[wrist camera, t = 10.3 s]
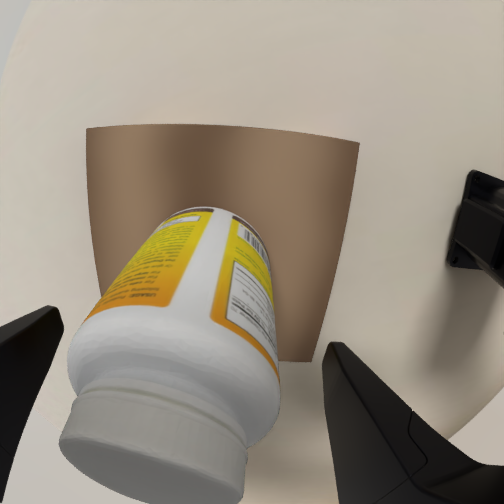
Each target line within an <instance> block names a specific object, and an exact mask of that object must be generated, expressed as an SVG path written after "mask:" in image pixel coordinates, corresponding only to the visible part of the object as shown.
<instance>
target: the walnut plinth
mask: <svg viewBox="0 0 504 504" xmlns="http://www.w3.org/2000/svg"><path fill="white" fill-rule="evenodd" d="M359 144H360V143H358V142H353V141H348V140H343V139H338V138H332V137H326V136H320V135H313V134H306V133H299V132H291V131H283V130H274V129H264V128H253V127H240V126H224V125H200V124H146V125H122V126H108V127H97V128H87V129H86V166H87V189H88V204H89V216H90V226H91V234H92V243H93V250H94V257H95V264H96V270H97V276H98V281H99V287H100V292H101V297H102V296H103V295H104V294H105V292H106V291H107V290H108V288H109V287H110V286H111V284H112V283H113V282H114V280H115V279H116V278H117V276H118V275H119V274H120V273H121V271H122V270H123V269H124V268H125V266H126V265H127V264H128V262H129V261H130V260H131V259H132V258H133V256H134V255H135V254H136V253H137V251H138V250H139V249H140V248H141V246H142V245H143V244H144V243H145V242H146V241H147V239H148V238H149V237H150V236H151V235H152V233H153V232H154V231H155V230H156V229H157V227H158V226H159V225H160V224H161V223H163V222H164V221H165V220H166V219H167V218H169V217H170V216H172V215H173V214H175V213H177V212H180V211H183V210H185V209H189V208H194V207H215V208H220V209H223V210H227V211H229V212H231V213H234V214H236V215H237V216H239V217H241V218H242V219H244V220H245V221H247V222H248V223H249V224H250V225H251V226H252V227H253V228H254V229H255V230H256V231H257V233H258V234H259V235H260V237H261V239H262V240H263V242H264V244H265V246H266V249H267V252H268V256H269V261H270V267H271V270H270V271H271V282H272V292H273V304H274V315H275V329H276V340H277V353H278V361H290V362H311V361H312V358H313V354H314V351H315V348H316V344H317V341H318V338H319V334H320V331H321V327H322V323H323V320H324V316H325V312H326V309H327V305H328V301H329V297H330V293H331V289H332V285H333V281H334V277H335V273H336V269H337V264H338V260H339V256H340V251H341V246H342V242H343V237H344V232H345V227H346V222H347V217H348V212H349V207H350V201H351V196H352V190H353V184H354V178H355V172H356V165H357V158H358V152H359Z"/></svg>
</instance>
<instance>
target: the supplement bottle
mask: <svg viewBox="0 0 504 504" xmlns="http://www.w3.org/2000/svg"><path fill="white" fill-rule="evenodd" d="M270 270H271V267H270V261H269V256H268V252H267V249H266V246H265V244H264V242H263V240H262V239H261V237H260V235H259V234H258V233H257V231H256V230H255V229H254V228H253V227H252V226H251V225H250V224H249V223H248V222H247V221H245V220H244V219H242V218H241V217H239V216H237V215H236V214H234V213H231V212H229V211H227V210H223V209H220V208H215V207H194V208H189V209H185V210H183V211H180V212H177V213H175V214H173V215H172V216H170V217H169V218H167V219H166V220H165V221H164V222H163V223H161V224H160V225H159V226H158V227H157V229H156V230H155V231H154V232H153V233H152V235H151V236H150V237H149V238H148V239H147V241H146V242H145V243H144V244H143V245H142V246H141V248H140V249H139V250H138V251H137V253H136V254H135V255H134V256H133V258H132V259H131V260H130V261H129V262H128V264H127V265H126V266H125V268H124V269H123V270H122V271H121V273H120V274H119V275H118V276H117V278H116V279H115V280H114V282H113V283H112V284H111V286H110V287H109V288H108V290H107V291H106V292H105V294H104V295H103V296H102V298H101V299H100V300H99V301H98V303H97V304H96V305H95V307H94V308H93V310H92V311H91V312H90V314H89V315H88V316H87V318H86V319H85V320H84V322H83V323H82V325H81V326H80V328H79V329H78V331H77V332H76V334H75V336H74V337H73V339H72V341H71V344H70V347H69V350H68V358H67V367H68V374H69V379H70V381H71V384H72V387H73V389H74V391H75V393H76V394H77V396H78V397H77V398H76V399H75V400H74V402H73V404H72V408H71V413H70V416H69V418H68V420H67V422H66V425H65V427H64V429H63V431H62V434H61V436H60V439H59V447H60V449H61V452H62V453H63V455H64V456H65V457H66V459H67V460H68V461H69V462H70V463H71V464H73V465H74V466H75V467H76V468H77V469H78V470H80V471H81V472H82V473H83V474H85V475H86V476H88V477H89V478H91V479H93V480H94V481H96V482H98V483H100V484H101V485H103V486H105V487H107V488H109V489H111V490H113V491H116V492H118V493H120V494H122V495H125V496H127V497H130V498H133V499H136V500H139V501H142V502H145V503H149V504H237V503H239V502H240V501H241V499H242V498H243V493H244V477H245V465H246V463H247V460H248V454H247V451H246V450H247V448H248V447H250V446H252V445H254V444H255V443H257V442H258V441H259V440H261V439H262V438H263V437H264V436H265V435H266V434H267V433H268V432H269V431H270V430H271V428H272V427H273V425H274V423H275V421H276V419H277V417H278V414H279V409H280V379H279V367H278V353H277V340H276V329H275V315H274V304H273V292H272V282H271V271H270Z"/></svg>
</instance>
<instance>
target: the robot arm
mask: <svg viewBox="0 0 504 504" xmlns="http://www.w3.org/2000/svg"><path fill="white" fill-rule="evenodd" d="M475 176H476V180H475ZM454 258H455V259H454ZM453 259H454V260H453ZM447 262H448V264H449V265H450V266H452V267H458V268H468V269H478V270H484V271H485V272H486V273H487V274H488V275H489V276H491V277H492V278H493V279H494V280H495V281H496V282H497V283H498V284H499V285H500V286H502V287H503V288H504V181H503V180H500V179H498V178H495V177H493V176H490V175H488V174H485V173H482V172H480V171H477V170H471V171H470V173H469V175H468V180H467V185H466V190H465V194H464V199H463V203H462V207H461V211H460V215H459V219H458V223H457V227H456V230H455V234H454V237H453V241H452V244H451V247H450V250H449V253H448V256H447ZM63 332H64V325H63V322H62V319H61V315H60V312H59V310H58V308H57V307H54V306H50V305H47V306H45V307H42V308H40V309H38V310H36V311H34V312H31V313H29V314H27V315H25V316H23V317H20V318H18V319H16V320H14V321H12V322H10V323H7V324H5V325H3V326H1V327H0V503H2V501H3V496H4V493H5V489H6V485H7V481H8V477H9V474H10V470H11V467H12V463H13V460H14V456H15V453H16V450H17V447H18V444H19V441H20V439H21V436H22V433H23V430H24V428H25V425H26V422H27V420H28V417H29V415H30V412H31V409H32V407H33V405H34V402H35V400H36V398H37V395H38V393H39V391H40V388H41V386H42V384H43V382H44V380H45V377H46V375H47V373H48V371H49V369H50V366H51V364H52V361H53V358H54V356H55V353H56V350H57V348H58V345H59V343H60V340H61V338H62V335H63ZM322 374H323V391H324V408H325V415H326V421H327V427H328V433H329V439H330V445H331V451H332V457H333V464H334V471H335V477H336V484H337V491H338V499H339V504H504V466H498V465H486V464H482V463H479V462H477V461H475V460H473V459H471V458H470V457H468V456H467V455H466V454H464V453H463V452H462V451H460V450H459V449H458V448H457V447H455V446H454V445H452V444H451V443H450V442H449V441H448V440H446V439H445V438H444V437H442V436H441V435H440V434H439V433H438V432H436V431H435V430H434V429H433V428H432V427H430V426H429V425H428V424H427V423H426V422H425V421H424V420H423V419H422V418H421V417H420V416H419V415H418V414H416V413H415V412H414V411H412V409H411V408H410V407H409V406H408V405H407V404H406V403H405V402H404V401H403V400H402V399H401V398H400V397H399V396H398V395H397V394H396V393H395V392H394V391H393V390H392V389H391V388H390V387H388V386H387V385H386V384H385V383H384V382H383V381H382V380H381V379H380V378H379V377H378V376H377V375H376V374H375V373H374V372H373V371H372V370H371V369H370V368H369V367H368V366H367V365H366V364H365V363H364V362H363V361H362V360H361V359H360V358H359V357H358V356H357V355H355V354H354V353H353V352H352V351H351V350H350V349H349V348H348V347H347V346H346V345H345V344H344V343H343V342H330V343H329V344H328V347H327V350H326V353H325V356H324V359H323V362H322Z"/></svg>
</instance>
